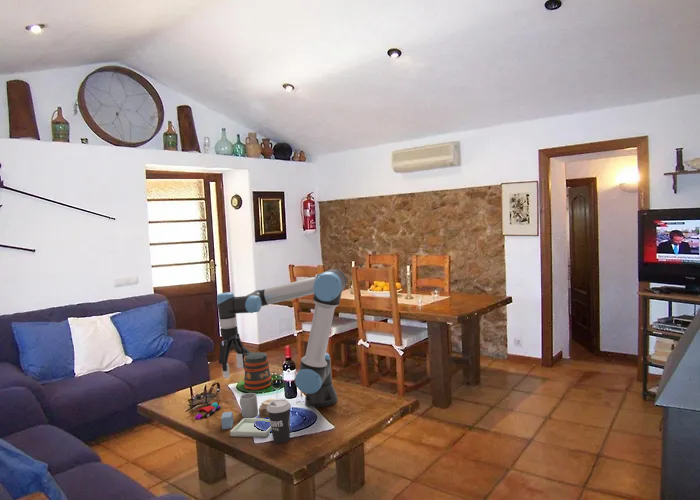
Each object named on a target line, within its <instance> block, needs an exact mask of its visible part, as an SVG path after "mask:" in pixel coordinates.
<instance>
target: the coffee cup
mask: <svg viewBox="0 0 700 500" xmlns="http://www.w3.org/2000/svg"><path fill="white" fill-rule="evenodd" d="M291 408H292V405H291V403H290V402H289V400H288V399H285V398H279V399H277V400H273V401H271V402H269V404H268V406H267V411H268V414H269V419H270V424H271V430H272V432H271V435H272V440H273V442H274V443H276V444H284V443H287V442H289V441H290V440H291V425H290V424H291V422H290V421H291V417H290V416H291V414H290V413H291Z"/></svg>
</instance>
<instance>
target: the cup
mask: <svg viewBox="0 0 700 500" xmlns="http://www.w3.org/2000/svg"><path fill="white" fill-rule="evenodd" d="M257 397H258V396H257V393H254V392H248V393H244V394H242V395H240V397H239V405H240V408H241V415H242V417H243V418H255V417H257V415H259V407H258V398H257Z"/></svg>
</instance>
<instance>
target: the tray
mask: <svg viewBox="0 0 700 500" xmlns="http://www.w3.org/2000/svg"><path fill="white" fill-rule="evenodd" d="M254 421H265V422H270V419H264V418H258V417H257V418H255V417H252V418H244V417H243V418H242V419H241V420H240V422H238V423H237V424H236V425H235V426H234V427H232V428H231V430H230V431H229V434H230V437H250V438H251V437H252V438H268V437H269V435H270V434H271V433H270V430H271V426H270V427H269V428H268V429H267V430H266V431H261V430H258V429H257V428H256V427H254ZM269 433H270V434H269Z"/></svg>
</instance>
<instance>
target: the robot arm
mask: <svg viewBox="0 0 700 500" xmlns="http://www.w3.org/2000/svg"><path fill="white" fill-rule="evenodd" d="M344 273H345V272H343V271H342V270H340V269H337V268H330V269H328V270H326V271H323V272H319V273H316V274H315V275H314V276H312V277H309V278H304V279H299V280H298V281H297V280H296V281H293V282H288V283H284V284H281V285H276V286H272V287H267V288H265V289H257V290H254V291H253V292H251V293H248V294H247V295H243V296H242V295H240V296H235V295H234V294H235V293H234V292H232V291H231V292H230V291H228V292H227V291H226V292H221V293H218V294H217V295H216V305H217V311H218V319H219V320H218V322H219V327H220V329H219V331H220V336H221V337H222V338H223V340H221V341H220V342H219V343H220V345H219V347H220V349H219V355H218V364H219V365H221V367H222V375H223V379H230V378H231V376H230V375H231V373H230V367H229V362H228V361H229V357H230V356H229V355H230V353H231V350H232V349H233V350H234V351H235V352H236V354H235V357H236V366H237V369H244V368H243V358H242V353H244V347H245V346H244V345H243V342H242V340H241V338H240V333H239V332H238V329H239V328H238V326H237V325H238V320H237V315H236V314H253V313H259V312H260V311H261V309H262V307H265V306H269V305H272V304H273V305H274V304H277V303H280V302H285V301H286V302H287V301H289V300H293V299H299V298H302V297H307V296H310V295H313V297H312V301H313V302H314V304H315V306H314V311H313V315H312V320H311V326H310V331H309V336H308V341H307V346H306V351H305V355H304V356H302V357H301V359H300V364H299V369H298V371H297V373H296V374H295V378H294V379H295V380H294V382H295V386H296V387H297V389H298V390H300V392H302V393H304V394H305V397H304V401H305V402H304V403H305V405H306V406H307V407H310V408H325V407H329V406H331V405H334V404H336V403H337V401H338V393H337V392H336V391H337V390H335V389H336V388H335V387H334V385H333V376H332V373H333V372H332V365H331V364H332V363H331V361H332V360H331V356H330V354H329V353H328V352H327V349H328V345H329V339H330V336H331V335H330V334H331V330H332V324H333V318H334V314H335V310H336V307H338V306H340V303H341V298H342V292H344V290H345V289H346V287H347V283H348V281H347V277H346V275H345V274H344Z"/></svg>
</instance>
